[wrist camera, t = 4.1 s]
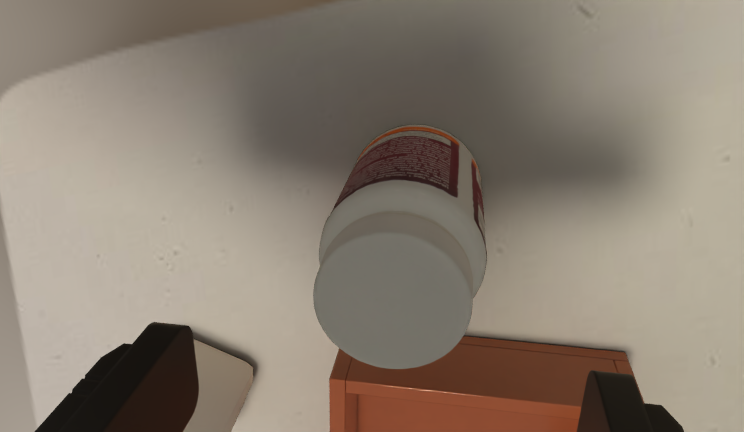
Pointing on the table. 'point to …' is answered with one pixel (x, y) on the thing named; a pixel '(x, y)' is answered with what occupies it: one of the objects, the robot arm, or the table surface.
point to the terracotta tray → (470, 389)
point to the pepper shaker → (219, 389)
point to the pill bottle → (403, 250)
